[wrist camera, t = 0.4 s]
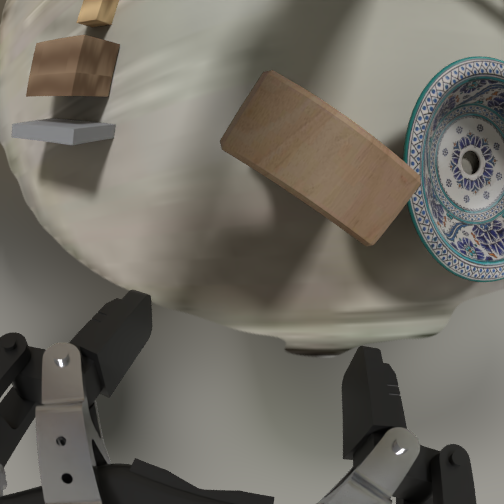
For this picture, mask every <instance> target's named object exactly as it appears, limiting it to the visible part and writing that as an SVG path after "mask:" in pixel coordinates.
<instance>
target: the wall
mask: <svg viewBox="0 0 504 504" xmlns="http://www.w3.org/2000/svg"><path fill="white" fill-rule="evenodd" d="M115 126H116V125H115V124H107V123H98V122H89V121H79V120H68V119H54V118H52V119H43V120H35V121H28V122H21V123H15V124H12V137H14V138H22V139H31V140H39V141H46V142H53V143H60V144H67V145H77V144H82V143H87V142H93V141H99V140H105V139H111V138H114V132H115Z"/></svg>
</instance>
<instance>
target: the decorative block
mask: <svg viewBox="0 0 504 504" xmlns="http://www.w3.org/2000/svg"><path fill="white" fill-rule="evenodd" d="M220 143H221V147H222V150H224V151H225V152H227V153H229V154H230V155H232V156H234V157H235V158H237V159H238V160H240V161H242V162H243V163H245V164H246V165H248V166H250V167H251V168H253V169H254V170H256V171H257V172H259V173H261V174H262V175H264V176H265V177H267V178H268V179H270V180H271V181H273V182H274V183H276V184H278V185H279V186H281V187H282V188H284V189H285V190H287V191H288V192H290V193H291V194H293V195H294V196H296V197H297V198H298V199H300V200H301V201H303V202H304V203H306V204H307V205H309V206H310V207H312V208H313V209H315V210H316V211H317V212H319V213H320V214H322V215H323V216H325V217H326V218H327V219H329V220H330V221H332V222H333V223H335V224H336V225H337V226H339V227H340V228H342V229H343V230H344V231H346V232H347V233H348V234H350V235H351V236H353V237H354V238H355V239H357V240H358V241H359V242H361V243H362V244H363V245H365V246H371V245H374V244H375V243H376V242H377V241H378V239H379V238H380V237H381V236H382V234H383V233H384V232H385V231H386V229H387V228H388V227H389V225H390V224H391V223H392V222H393V220H394V219H395V218H396V217H397V215H398V214H399V213H400V211H401V210H402V209H403V207H404V206H405V205H406V203H407V202H408V201H409V199H410V198H411V197H412V195H413V194H414V193H415V191H416V190H417V189H418V187H419V186H420V184H421V181H420V175H419V174H418V173H417V172H415V171H414V170H413V169H412V168H411V167H410V166H409V165H407V164H406V163H405V162H404V161H403V160H402V159H400V158H399V157H398V156H397V155H396V154H395V153H393V152H392V151H391V150H390V149H388V148H387V147H386V146H385V145H384V144H382V143H381V142H380V141H378V140H377V139H376V138H375V137H373V136H372V135H371V134H369V133H368V132H367V131H366V130H364V129H363V128H362V127H360V126H359V125H357V124H356V123H355V122H353V121H352V120H351V119H349V118H348V117H346V116H345V115H344V114H342V113H341V112H339V111H338V110H336V109H335V108H333V107H332V106H330V105H329V104H327V103H326V102H324V101H323V100H321V99H320V98H318V97H317V96H315V95H314V94H312V93H310V92H309V91H307V90H306V89H304V88H302V87H301V86H299V85H297V84H296V83H294V82H292V81H291V80H289V79H287V78H286V77H284V76H282V75H280V74H278V73H277V72H275V71H273V70H270V71H266V72H263V73H262V75H261V76H260V78H259V79H258V81H257V82H256V84H255V85H254V87H253V89H252V90H251V92H250V93H249V95H248V96H247V98H246V99H245V101H244V103H243V104H242V106H241V107H240V109H239V111H238V112H237V114H236V115H235V117H234V119H233V120H232V122H231V124H230V125H229V127H228V128H227V130H226V132H225V133H224V135H223V137H222V138H221V140H220Z"/></svg>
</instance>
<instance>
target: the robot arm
mask: <svg viewBox="0 0 504 504" xmlns="http://www.w3.org/2000/svg"><path fill="white" fill-rule="evenodd" d="M151 331H152V309H151V296H150V295H148V294H145V293H142V292H139V291H135V290H130V291H129V292H128V293H127V294H126V295H125V296H124V297H123V299H118V298H116V299H114V300H113V301H111V302H108V303H106V304H105V305H104V306H103V307H102V308H101V309H100V310H99V312H98V313H97V314H96V315H95V316H94V317H93V318H92V320H90V321H89V322H88V323H87V324H86V325H85V326H84V327H83V328H82V329H81V330H80V331H79V332H78V334H77V335H76V336H75V337H74V338H73V339H72V340H71V341H70V342H69V343H65V342H63V343H56V344H54V345H52V346H50V347H49V348H47V350H45V349H40V348H34V347H29V346H28V344H27V342H26V339H25V337H24V336H22V335H21V334H19V333H8V334H5V335H3V336H2V337H0V397H1V396H2V395H3V393H4V392H5V391H6V389H7V388H8V386H10V384H11V383H12V385H13V387H12V388H11V389H10V391H9V392H8V393H7V395H6V396H5V397H4V399H3V400H2V401H1V403H0V504H273V503H274V497H271V496H265V495H259V494H254V493H248V492H243V491H225V490H203V489H199V488H197V487H195V486H193V485H191V484H189V483H188V482H186V481H184V480H183V479H181V478H179V477H177V476H176V475H174V474H172V473H171V472H169V471H167V470H165V469H162V468H159V467H157V466H154V465H151V464H149V463H146V462H144V461H141V460H139V459H136V458H135V460H134V462H133V464H132V465H130V464H111V462H110V459H109V456H108V453H107V450H106V447H105V444H104V440H103V436H102V431H101V426H100V421H99V415H98V410H97V404H96V398H97V397H98V395H99V394H102V395H104V396H106V397H108V398H109V397H110V396H111V395H112V393H113V392H114V390H115V389H116V387H117V386H118V384H119V383H120V381H121V380H122V378H123V377H124V375H125V374H126V372H127V371H128V369H129V368H130V366H131V365H132V363H133V362H134V360H135V358H136V357H137V356H138V354H139V353H140V351H141V349H142V348H143V347H144V345H145V344H146V342H147V341H148V339H149V337H150V335H151ZM342 406H343V407H342V409H343V459H349V460H353V467H352V468H351V469H350V470H349V471H348V473H346V475H345V476H344V477H343V478H342V479H341V480H340V481H339V482H338V483H337V484H336V485H335V486H334V487H333V488H332V489H331V490H330V491H329V492H328V493H327V494H326V495H325V496H324V497H323V498H322V499H321V500H320V501H319V502H318V503H317V504H392V500H391V499H390V498H391V496H393V497H396V504H476V496H475V488H474V481H473V475H472V469H471V463H470V459H469V455H468V453H467V452H466V450H465V449H464V448H462V447H461V446H459V445H456V444H450V445H447V446H445V447H444V448H443V449H442V450H441V451H437V450H434V449H431V448H427V447H424V446H422V445H420V443H419V440H418V438H417V437H416V435H415V434H414V433H413V432H411V431H410V430H408V429H407V427H406V422H405V416H404V411H403V406H402V401H401V396H400V391H399V387H398V382H397V379H396V374H395V372H394V371H393V369H392V368H391V366H390V365H389V364H387V363H383V361H382V356H381V351H380V350H379V349H377V348H371V347H365V346H360V347H359V348H358V349H357V351H356V353H355V355H354V357H353V359H352V361H351V363H350V365H349V367H348V369H347V371H346V372H345V375H344V378H343V382H342ZM34 418H36V438H37V450H38V461H39V469H40V477H41V483H42V486H39V487H36V488H32V489H29V490H25V491H22V492H17V493H13V494H9V495H5V496H3V490H4V489H5V488H6V487H7V481H6V475H5V471H4V466H5V465H6V463H7V461H8V460H9V458H10V456H11V455H12V453H13V451H14V450H15V448H16V446H17V445H18V443H19V442H20V440H21V438H22V437H23V435H24V434H25V432H26V430H27V429H28V427H29V426H30V424H31V423H32V421H33V420H34Z"/></svg>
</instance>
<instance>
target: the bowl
mask: <svg viewBox="0 0 504 504" xmlns="http://www.w3.org/2000/svg"><path fill="white" fill-rule="evenodd" d="M467 151H473V152H474V153H476V155H477V156H478V159H479V168H478V170H477V171H476V172H475V173H474V174H471V175H469V174H467V173H465V172H464V170H463V168H462V164H461V160H462V157H463V155H464V153H466V152H467ZM403 161H404V162H405V163H406V164H407V165H409V166H410V167H411V168H412V169H413V170H414V171H415V172H417V173H418V174H419V175H420V181H421V184H420V186H419V187H418V189H417V190H416V191H415V193H414V194H413V195H412V197H411V198H410V199H409V201H408V202H407V204H408V209H409V212H410V215H411V218H412V221H413V224H414V226H415V229H416V231H417V233H418V235H419V237H420V239H421V241H422V243H423V244H424V246H425V247H426V249H427V250H428V252H429V253H430V254H431V255H432V257H433V258H434V259H435V260H436V261H437V262H438V263H439V264H440V265H441V266H443V267H444V268H445V269H446V270H448V271H450V272H451V273H453V274H454V275H456V276H459V277H461V278H463V279H467V280H470V281H476V282H492V281H497V280H501V279H504V61H501V60H498V59H495V58H490V57H468V58H464V59H460V60H458V61H456V62H453V63H451V64H449V65H448V66H446V67H445V68H443V69H442V70H441V71H440V72H438V73H437V74H436V75H435V76H434V77H433V78H432V79H431V81H430V82H429V83H428V84H427V86H426V87H425V88H424V90H423V91H422V93H421V95H420V97H419V98H418V100H417V102H416V105H415V107H414V109H413V111H412V114H411V117H410V121H409V124H408V128H407V132H406V138H405V144H404V154H403Z"/></svg>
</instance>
